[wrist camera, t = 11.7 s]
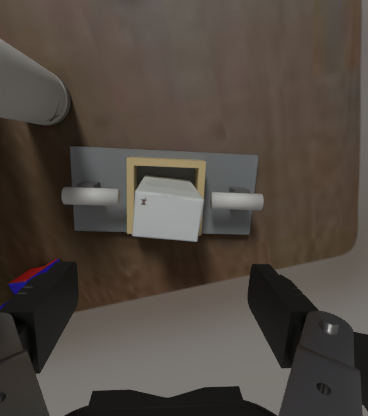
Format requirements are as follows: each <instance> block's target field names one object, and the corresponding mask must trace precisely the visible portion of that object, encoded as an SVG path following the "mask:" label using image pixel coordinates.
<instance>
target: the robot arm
mask: <svg viewBox="0 0 368 416" xmlns="http://www.w3.org/2000/svg"><path fill="white" fill-rule="evenodd" d="M78 295H79V294H78V275H77V264H76V262H61V261H57V262H56V263H55V264H54V265H53V266H52V267H51V268H50V269H49V270H48V271H47V272H46V273H41V274H39V275H37V276H35V277H33V278H32V279H30V280H29V281H28V282H27V283H26V284H25V285H24V288H21V289H20V290H19V291H18V293H17V294H15V295H14V296H13V297H12V298H11V299H10V300H9V301H8V302H7V303H6V304H5V305H4V306H3V307H2V308H1V309H0V416H50V415H49V412H48V410H47V407H46V404H45V401H44V398H43V395H42V392H41V389H40V386H39V383H38V380H37V377H36V373H40V372H41V370H42V369H43V367H44V365H45V363H46V361H47V359H48V358H49V356H50V354H51V352H52V350H53V349H54V347H55V345H56V343H57V341H58V339H59V337H60V336H61V334H62V332H63V330H64V329H65V327H66V325H67V323H68V321H69V319H70V318H71V316H72V314H73V312H74V310H75V308H76V306H77V303H78ZM248 304H249V307H250V309H251V312H252V313H253V315H254V317H255V319H256V321H257V323H258V325H259V327H260V328H261V330H262V332H263V334H264V336H265V338H266V340H267V342H268V344H269V345H270V347H271V349H272V351H273V353H274V355H275V357H276V359H277V361H278V363H279V365H280V366H281V368H291V372H290V375H289V378H288V382H287V386H286V390H285V393H284V397H283V401H282V405H281V408H280V412H279V415H278V416H363V415H362V405H364V406H365V408H366V409H367V411H368V335H367V334H361V333H357V332H353V329H352V327H351V326H350V325H349V324H348V323H347V322H346V321H345V320H343V319H342V318H340V317H338V316H336V315H334V314H331V313H328V312H324V311H319V310H318V309H317V308H316V307H315V306H314V305H313V304H312V303H311V301H310V300H309V299H308V298H307V297H306V296H305V295H303V293H302V292H301V291H300V290H299V289H297V287H296V286H295V284H293V283H292V281H291V280H289V279H287V278H286V277H284V276H282V275H279V274H278V273H277V272H276V271H275V270H274V269H273V268H272V267H271V265H269V264H253V265H252V266H251V271H250V279H249V287H248ZM65 416H277V415H275V414H274V413H272V412H271V411H269V410H267V409H265V408H263V407H261V406H259V405H257V404H255V403H252V402H249V401H245V400H243V398H242V395H241V392H240V388H239V386H234V387H204V388H201V389H197V390H194V391H191V392H187V393H184V394H181V395H177V396H174V397H170V398H165V397H160V396H155V395H151V394H147V393H142V392H138V391H133V390H109V391H107V390H106V391H93V392H92V395H91V399H90V402H89V405H88V406H85V407H82V408H79V409H77V410H75V411H72V412H70V413H68V414H67V415H65Z"/></svg>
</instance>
